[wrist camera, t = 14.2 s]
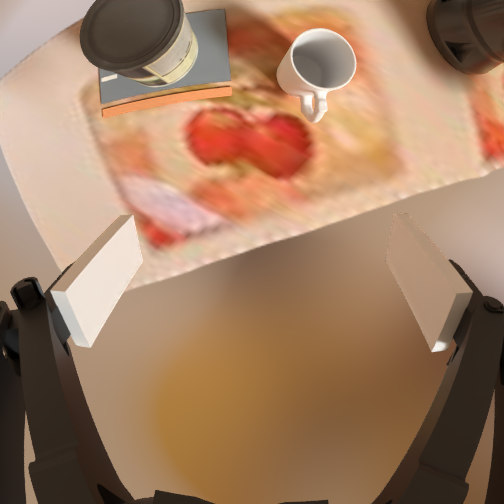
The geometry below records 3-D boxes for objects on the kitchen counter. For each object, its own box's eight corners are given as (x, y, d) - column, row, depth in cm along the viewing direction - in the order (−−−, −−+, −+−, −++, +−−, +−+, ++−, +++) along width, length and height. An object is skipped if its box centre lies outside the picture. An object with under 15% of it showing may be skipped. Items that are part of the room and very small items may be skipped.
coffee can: (134, 99, 35) (89, 88, 22) (118, 36, 31) (73, 5, 18) (207, 73, 35) (194, 47, 22) (189, 10, 31) (171, -36, 18)
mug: (273, 52, 34) (289, 25, 23) (322, 55, 35) (354, 32, 24) (275, 122, 38) (291, 120, 27) (324, 124, 38) (357, 124, 27)
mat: (224, 9, 31) (224, 8, 31) (230, 80, 36) (230, 80, 35) (99, 35, 31) (98, 34, 30) (102, 103, 35) (101, 103, 35)
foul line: (231, 87, 36) (231, 86, 36) (232, 95, 36) (232, 95, 36) (103, 109, 36) (102, 109, 35) (103, 117, 36) (103, 117, 36)
